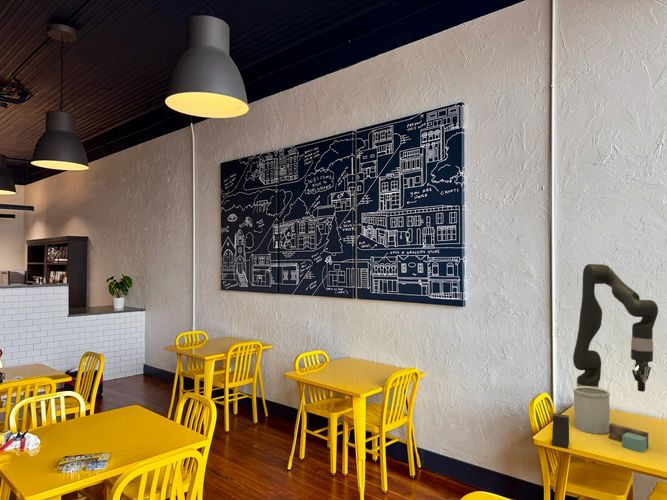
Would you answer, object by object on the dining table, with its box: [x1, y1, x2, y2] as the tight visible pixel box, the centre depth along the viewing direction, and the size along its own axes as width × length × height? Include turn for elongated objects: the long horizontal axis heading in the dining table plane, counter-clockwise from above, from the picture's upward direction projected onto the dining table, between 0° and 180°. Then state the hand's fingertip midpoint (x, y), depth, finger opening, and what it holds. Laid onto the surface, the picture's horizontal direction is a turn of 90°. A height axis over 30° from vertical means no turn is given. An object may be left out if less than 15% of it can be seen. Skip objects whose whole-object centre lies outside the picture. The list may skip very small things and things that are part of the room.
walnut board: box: [608, 423, 649, 449], centre depth 199 cm, size 14×2×6 cm, turn 39°
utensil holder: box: [572, 386, 611, 435], centre depth 216 cm, size 15×15×18 cm
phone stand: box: [551, 412, 570, 449], centre depth 197 cm, size 9×6×12 cm, turn 150°
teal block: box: [621, 432, 648, 454], centre depth 193 cm, size 7×6×5 cm
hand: (641, 391), depth 193 cm, fingers closed
